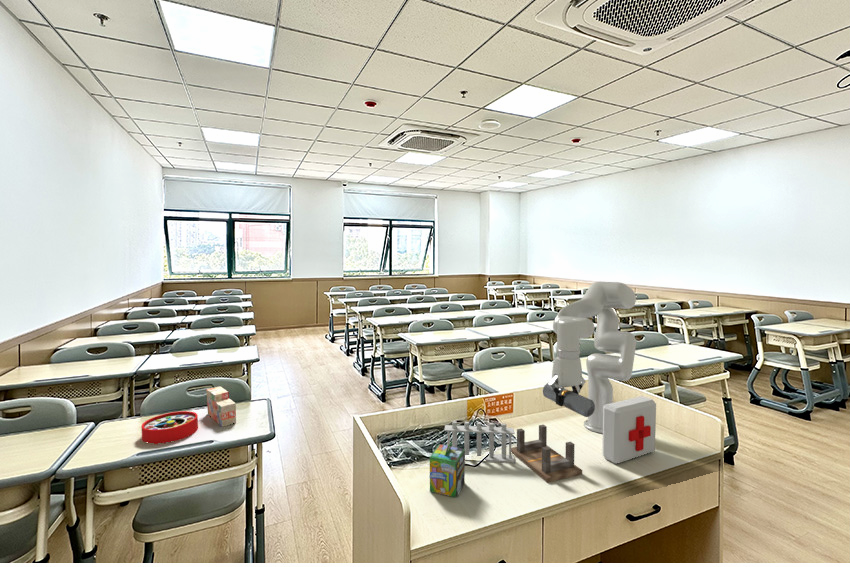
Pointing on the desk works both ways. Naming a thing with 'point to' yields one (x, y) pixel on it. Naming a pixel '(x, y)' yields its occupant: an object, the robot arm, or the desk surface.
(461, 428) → the test tube rack
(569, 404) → the grey cylinder
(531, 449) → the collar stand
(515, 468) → the desk surface
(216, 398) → the stack of blocks
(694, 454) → the desk surface
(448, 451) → the chalk box
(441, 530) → the desk surface
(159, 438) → the toy clock
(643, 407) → the bevelled white case
